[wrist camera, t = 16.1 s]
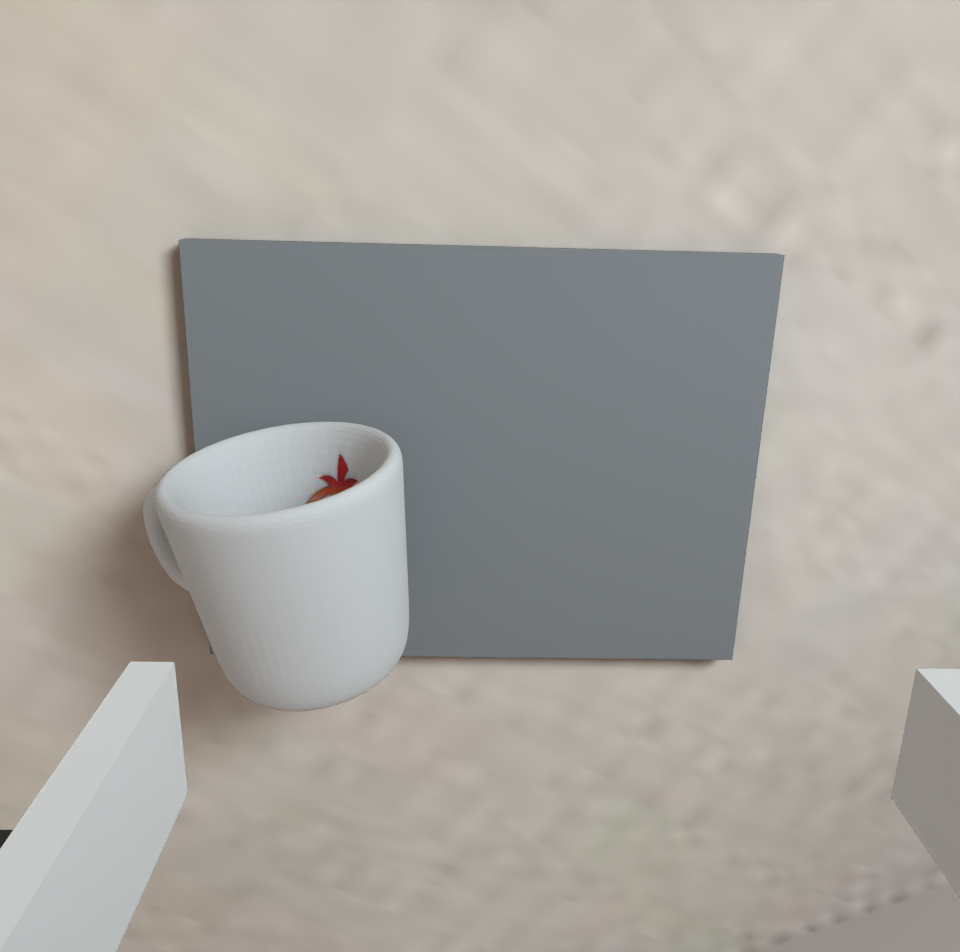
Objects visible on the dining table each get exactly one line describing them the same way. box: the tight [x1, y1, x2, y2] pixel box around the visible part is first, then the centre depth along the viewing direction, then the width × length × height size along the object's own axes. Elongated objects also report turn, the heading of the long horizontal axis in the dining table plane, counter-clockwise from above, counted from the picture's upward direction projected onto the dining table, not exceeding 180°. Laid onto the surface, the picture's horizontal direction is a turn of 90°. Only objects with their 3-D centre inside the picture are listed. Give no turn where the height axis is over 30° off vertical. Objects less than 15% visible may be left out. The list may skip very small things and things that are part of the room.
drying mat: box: [179, 238, 784, 660], centre depth 34 cm, size 21×16×1 cm
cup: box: [143, 422, 409, 711], centre depth 31 cm, size 11×8×8 cm
